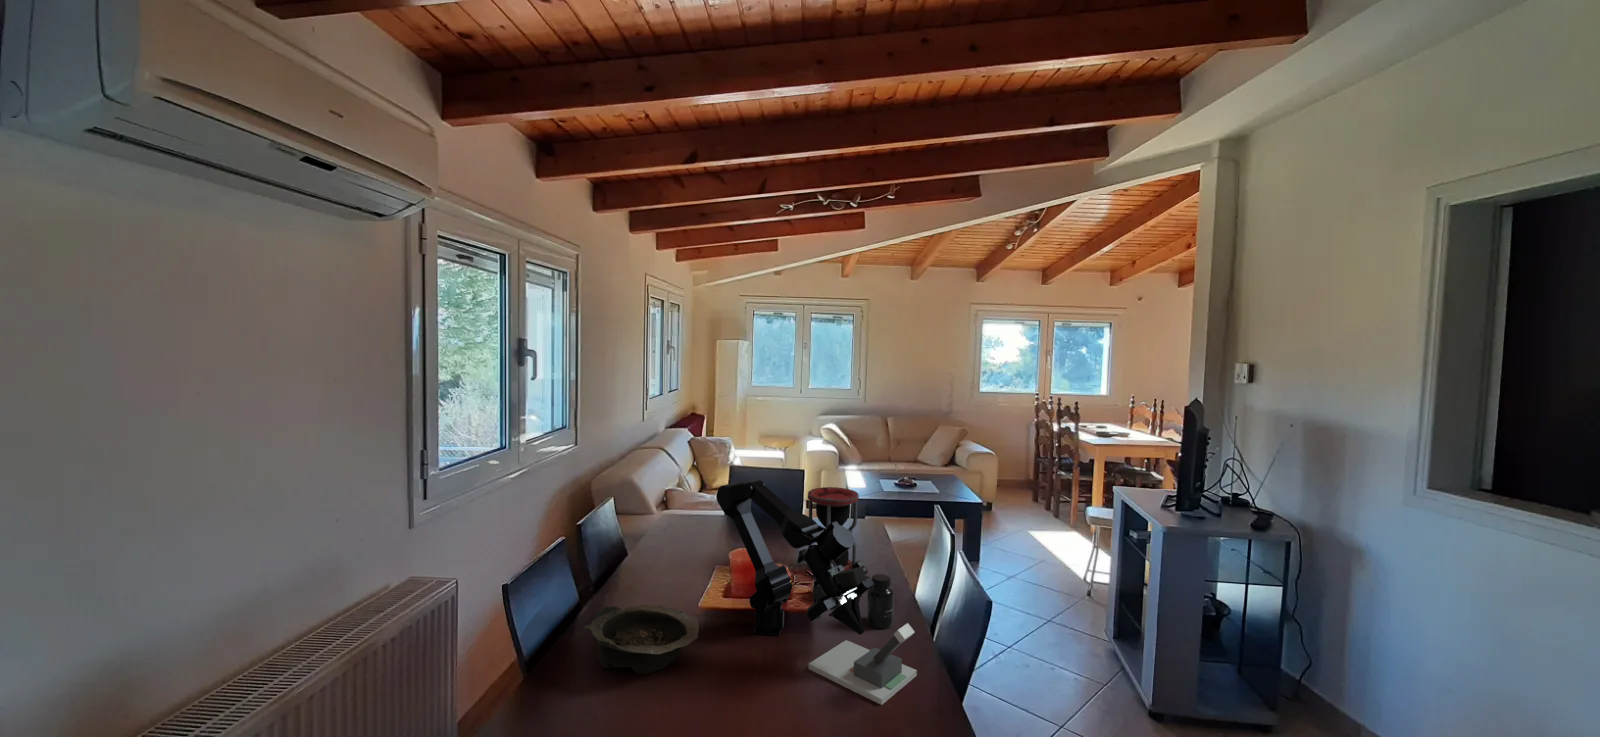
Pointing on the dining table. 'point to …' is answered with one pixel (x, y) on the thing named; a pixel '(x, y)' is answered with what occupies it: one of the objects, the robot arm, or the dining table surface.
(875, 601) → the supplement bottle
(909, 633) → the breaker lever
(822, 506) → the hourglass
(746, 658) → the dining table surface
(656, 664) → the stone bowl
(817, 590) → the smart speaker
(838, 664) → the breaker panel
